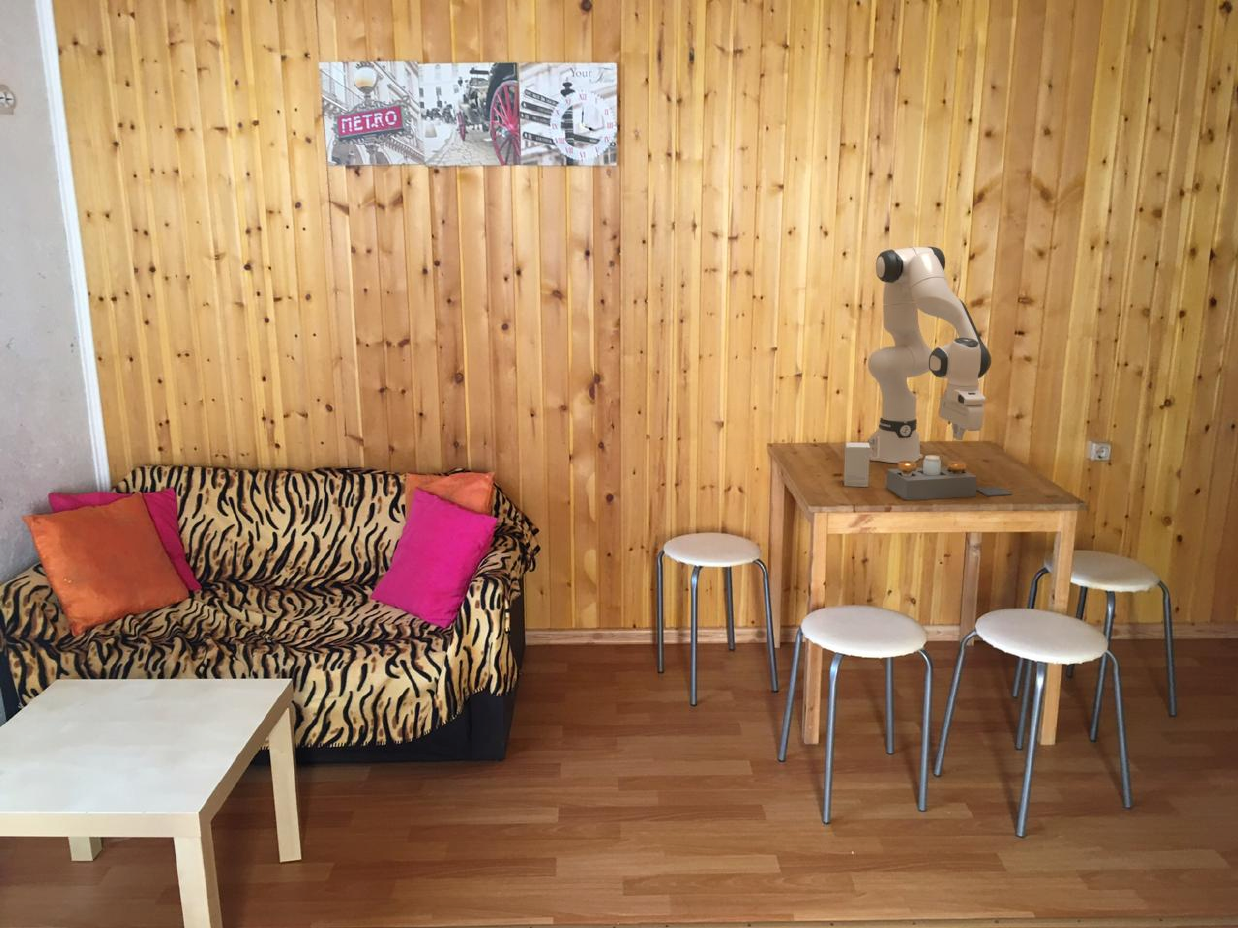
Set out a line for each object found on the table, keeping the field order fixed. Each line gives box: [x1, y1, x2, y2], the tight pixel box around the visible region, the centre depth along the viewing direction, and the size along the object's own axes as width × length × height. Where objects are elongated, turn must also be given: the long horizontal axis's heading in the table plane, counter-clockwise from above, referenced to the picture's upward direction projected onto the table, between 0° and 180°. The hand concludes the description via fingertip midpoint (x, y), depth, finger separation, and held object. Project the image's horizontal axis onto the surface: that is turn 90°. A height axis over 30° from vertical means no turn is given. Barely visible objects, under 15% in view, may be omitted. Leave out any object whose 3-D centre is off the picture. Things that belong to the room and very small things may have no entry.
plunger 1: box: [897, 461, 917, 477], centre depth 303 cm, size 5×5×8 cm
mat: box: [976, 486, 1013, 497], centre depth 304 cm, size 8×8×1 cm
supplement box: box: [843, 441, 870, 488], centre depth 314 cm, size 7×7×13 cm
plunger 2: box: [947, 460, 967, 474], centre depth 305 cm, size 5×5×8 cm
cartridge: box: [922, 454, 942, 476], centre depth 304 cm, size 5×5×11 cm
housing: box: [885, 465, 978, 501], centre depth 305 cm, size 14×22×6 cm, turn 99°
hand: (957, 439), depth 303 cm, fingers closed
